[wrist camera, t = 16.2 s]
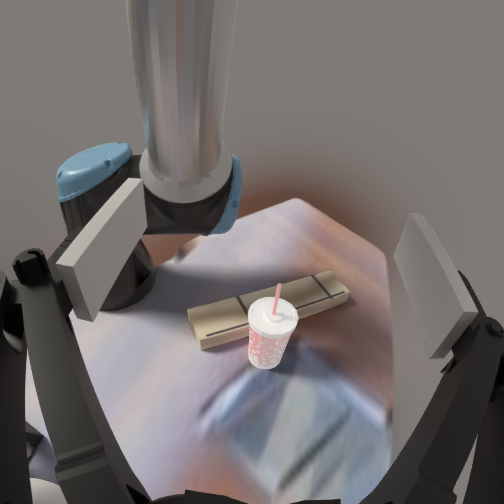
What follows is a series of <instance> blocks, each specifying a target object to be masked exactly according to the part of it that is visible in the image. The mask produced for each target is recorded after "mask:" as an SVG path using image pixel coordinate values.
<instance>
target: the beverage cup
mask: <svg viewBox="0 0 504 504" xmlns="http://www.w3.org/2000/svg"><path fill="white" fill-rule="evenodd" d="M281 286H282V284H281V283H278V284H277V289H276V294H275V297H264V298H261V299H258V300H256V301H255V302H254V303H253V304H251V306H250V308H249V311H248V322H249V324H250V326H249V360H250V361H251V363H252V364H253V365H254V366H256V367H257V368H260V369H271V368H274V367H276V366H277V365H278V364H279V362H280V360H281V358H282V355H283V353H284V350H285V348H286V345H287V343H288V340H289V338H290V335H291V333H292V332H293V331H294V330H295V327H296V325H297V321H298V314H297V310H296V309H295V308H294V307H293V305H292V304H290V303H289V302H287V301H286V300H284V299H280V298H279V295H280V291H281Z"/></svg>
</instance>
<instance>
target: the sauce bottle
mask: <svg viewBox="0 0 504 504" xmlns="http://www.w3.org/2000/svg"><path fill="white" fill-rule="evenodd" d="M30 483H31V490H32V499H33V504H67V502H66V499H65V497H64V495H63V493H62V490H61V488H60V486H59V485H56V484H54V483H51V482H48V481H45V480H41V479H36V478H30Z"/></svg>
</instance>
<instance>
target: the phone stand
mask: <svg viewBox="0 0 504 504" xmlns="http://www.w3.org/2000/svg"><path fill="white" fill-rule="evenodd" d="M25 428H26V445H27V457H28V460H29V459H30V458H31V456H32V455H33V453H34V452H35V450H36V448H37V447H38V445H39V444H40V442H41V441H42V439H43V437H44V436H43V435H42V434H41V433H40V432H38V431H37V430H36V429H35V428H33V427H32V426H31V425H30V424H29V423H27V422H26V421H25Z"/></svg>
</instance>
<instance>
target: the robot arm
mask: <svg viewBox="0 0 504 504" xmlns="http://www.w3.org/2000/svg"><path fill="white" fill-rule="evenodd" d="M238 4H239V0H126V8H127V20H128V28H129V38H130V46H131V54H132V60H133V68H134V75H135V82H136V88H137V94H138V101H139V106H140V112H141V118H142V123H143V129H144V134H145V139H146V145H147V147H146V149H145V150H144V152H143V154H142V155H132V150H131V149H130V146H129V145H128V144H126V143H120V142H115V143H107V144H102V145H98V146H95V147H92V148H89V149H86V150H84V151H82V152H80V153H78V154H76V155H74V156H72V157H71V158H69V159H68V160H67V161H66V162H64V163H63V164H62V165H61V166H60V168H59V169H58V172H57V175H56V183H57V192H58V201H59V202H60V206H61V210H62V214H63V218H64V222H65V226H66V229H67V233H68V236H67V237H66V238H65V240H64V241H63V242H62V243H61V245H60V246H59V247H58V248H57V249H56V250H55V252H54V253H53V254H52V256H51V257H50V258H49V259H48V261H46V258H45V255H44V253H43V251H42V250H40V249H35V248H32V249H28V250H26V251H24V252H22V253H20V254H19V255H18V256H17V257H16V258H15V260H14V261H13V265H12V266H13V269H14V271H15V273H16V275H17V278H18V280H11V281H8V279H7V277H6V275H5V273H4V272H2V271H0V504H33V499H32V490H31V483H30V475H29V467H28V457H27V445H26V428H25V377H26V359H27V348H28V354H29V359H30V364H31V369H32V374H33V379H34V383H35V388H36V392H37V396H38V400H39V404H40V407H41V411H42V415H43V418H44V421H45V425H46V428H47V431H48V434H49V437H50V440H51V443H52V446H53V449H54V452H55V455H56V458H57V463H58V464H57V466H56V467H55V474H56V477H57V480H58V483H59V486H60V488H61V490H62V493H63V495H64V497H65V499H66V502H67V504H247V503H244V502H241V501H238V500H235V499H232V498H229V497H227V496H223V495H216V494H209V493H203V492H197V491H191V490H185V494H177V495H171V496H166V497H162V498H159V499H156V500H154V501H152V500H151V498H150V497H149V495H148V494H147V492H146V490H145V489H144V487H143V486H142V484H141V483H140V481H139V480H138V478H137V477H136V476H135V474H134V473H133V471H132V470H131V468H130V466H129V464H128V462H127V460H126V458H125V457H124V455H123V453H122V451H121V449H120V447H119V445H118V443H117V441H116V439H115V436H114V434H113V432H112V430H111V428H110V426H109V424H108V421H107V419H106V417H105V415H104V412H103V410H102V408H101V405H100V403H99V400H98V398H97V396H96V393H95V391H94V388H93V385H92V383H91V380H90V378H89V375H88V372H87V369H86V367H85V364H84V361H83V358H82V355H81V352H80V349H79V346H78V343H77V340H76V336H75V333H74V330H73V326H72V323H71V320H70V318H69V314H70V312H71V310H72V308H73V310H74V312H75V315H76V317H77V318H78V319H82V320H86V321H91V322H93V321H94V320H95V318H96V316H97V314H98V312H99V310H115V309H120V308H124V307H127V306H130V305H132V304H134V303H136V302H137V301H139V300H140V299H142V298H143V297H144V296H145V295H146V294H147V293H148V292H149V291H150V289H151V288H152V286H153V284H154V281H155V269H154V263H153V260H152V258H151V256H150V254H149V252H148V251H147V249H146V247H145V245H144V243H143V242H142V240H141V236H142V235H175V234H176V235H177V234H178V235H183V234H184V235H186V234H191V235H193V234H197V235H198V234H200V235H203V236H208V235H211V234H223V233H226V232H227V231H229V230H230V229H231V228H232V226H233V224H234V222H235V220H236V217H237V213H238V208H239V203H238V202H239V200H240V196H241V184H242V183H241V182H242V174H241V165H240V161H239V159H238V158H237V157H236V156H235V155H232V154H230V151H229V149H228V147H227V146H226V144H225V143H224V142H223V141H222V135H223V126H224V116H225V107H226V98H227V89H228V80H229V72H230V63H231V55H232V47H233V40H234V39H233V38H234V32H235V24H236V18H237V10H238ZM393 257H394V259H395V262H396V264H397V267H398V269H399V272H400V274H401V277H402V279H403V282H404V284H405V287H406V290H407V293H408V295H409V298H410V301H411V303H412V306H413V309H414V312H415V315H416V318H417V321H418V323H419V327H420V330H421V333H422V336H423V339H424V342H425V345H426V348H427V352H428V355H429V358H430V359H432V358H444V357H445V356H446V355H447V354H448V353H449V351H450V350H451V349H452V352H453V355H454V357H453V358H452V359H451V360H450V361H449V363H448V364H447V365H446V366H445V367H444V368H443V369H442V371H441V373H443V372H444V371H445V372H444V375H443V377H442V379H441V381H440V383H439V385H438V387H437V389H436V391H435V393H434V395H433V397H432V399H431V401H430V403H429V405H428V407H427V408H426V410H425V412H424V414H423V416H422V418H421V420H420V421H419V423H418V425H417V427H416V428H415V430H414V431H413V433H412V435H411V437H410V438H409V440H408V441H407V443H406V445H405V446H404V448H403V449H402V451H401V452H400V454H399V456H398V457H397V459H396V460H395V462H394V463H393V464H392V466H391V467H390V469H389V470H388V472H387V473H386V475H385V476H384V477H383V479H382V480H381V481H380V483H379V484H378V486H377V487H376V488H375V489H374V490H373V491H372V492H371V493H370V494H369V495H368V496H367V497H366V498H364V499H363V500H362V501H361V502H360V503H359V504H455V503H456V498H457V496H456V495H455V494H454V493H453V489H454V486H455V484H456V482H457V480H458V478H459V476H460V474H461V472H462V470H463V467H464V465H465V463H466V461H467V459H468V456H469V454H470V451H471V449H472V447H473V444H474V442H475V439H476V437H477V434H478V437H477V444H476V449H475V454H474V460H473V464H472V469H471V474H470V478H469V482H468V486H467V490H466V493H465V497H464V501H463V504H504V329H503V327H502V326H501V325H500V323H499V322H497V321H496V320H495V319H493V318H491V317H487V316H486V314H485V312H484V310H483V309H482V306H481V304H480V302H479V300H478V298H477V296H476V295H475V293H474V291H473V289H471V288H472V287H471V285H470V283H469V281H468V280H467V278H466V277H465V276H464V275H463V274H462V273H461V272H460V271H457V270H456V268H455V266H454V265H453V263H452V261H451V259H450V258H449V256H448V254H447V252H446V251H445V249H444V247H443V246H442V244H441V242H440V241H439V239H438V238H437V236H436V234H435V233H434V231H433V230H432V228H431V226H430V225H429V223H428V222H427V220H426V219H425V217H424V216H423V215H421V214H416V213H410V215H409V218H408V220H407V223H406V226H405V228H404V231H403V233H402V236H401V238H400V241H399V244H398V246H397V249H396V251H395V253H394V256H393ZM291 504H341V499H333V500H304V501H300V502H295V503H291Z"/></svg>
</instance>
